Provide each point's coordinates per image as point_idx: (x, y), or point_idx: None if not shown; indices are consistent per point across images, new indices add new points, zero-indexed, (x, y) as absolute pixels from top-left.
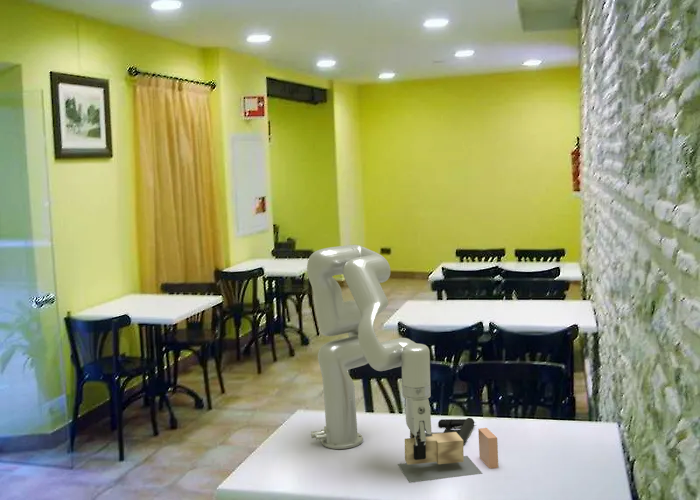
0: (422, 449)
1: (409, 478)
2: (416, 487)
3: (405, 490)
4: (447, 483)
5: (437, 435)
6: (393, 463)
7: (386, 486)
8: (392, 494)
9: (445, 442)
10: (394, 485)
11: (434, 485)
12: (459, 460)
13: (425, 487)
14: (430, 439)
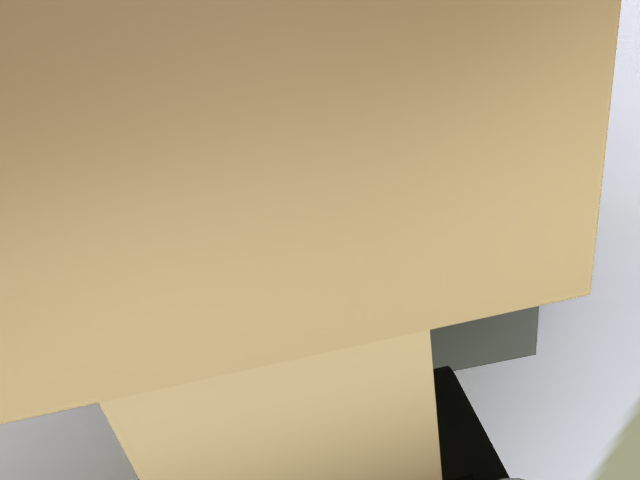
0: (488, 452)
1: (460, 352)
2: (587, 297)
3: (604, 360)
4: (619, 34)
5: (18, 297)
6: (101, 441)
7: (500, 454)
8: (626, 421)
9: (599, 76)
10: (501, 418)
11: (610, 164)
12: None
13: (616, 236)
14: (345, 449)
